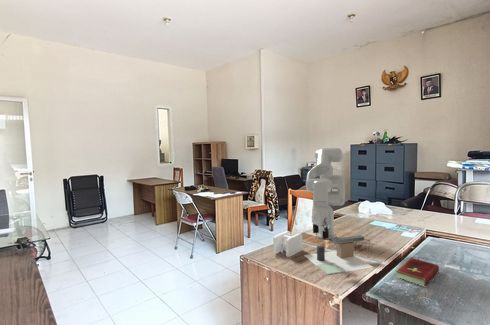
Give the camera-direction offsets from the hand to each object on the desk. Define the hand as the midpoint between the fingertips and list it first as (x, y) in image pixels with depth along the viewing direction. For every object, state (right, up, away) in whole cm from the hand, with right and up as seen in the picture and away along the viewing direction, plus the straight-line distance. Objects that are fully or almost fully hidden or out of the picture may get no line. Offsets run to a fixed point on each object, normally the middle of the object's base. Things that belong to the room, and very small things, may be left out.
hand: (320, 235), depth 144 cm
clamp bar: (+17, -5, +5) cm, 18 cm away
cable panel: (+8, -15, -1) cm, 17 cm away
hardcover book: (+42, -15, -15) cm, 47 cm away
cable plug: (0, -13, +1) cm, 13 cm away
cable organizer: (-15, -15, +14) cm, 25 cm away
